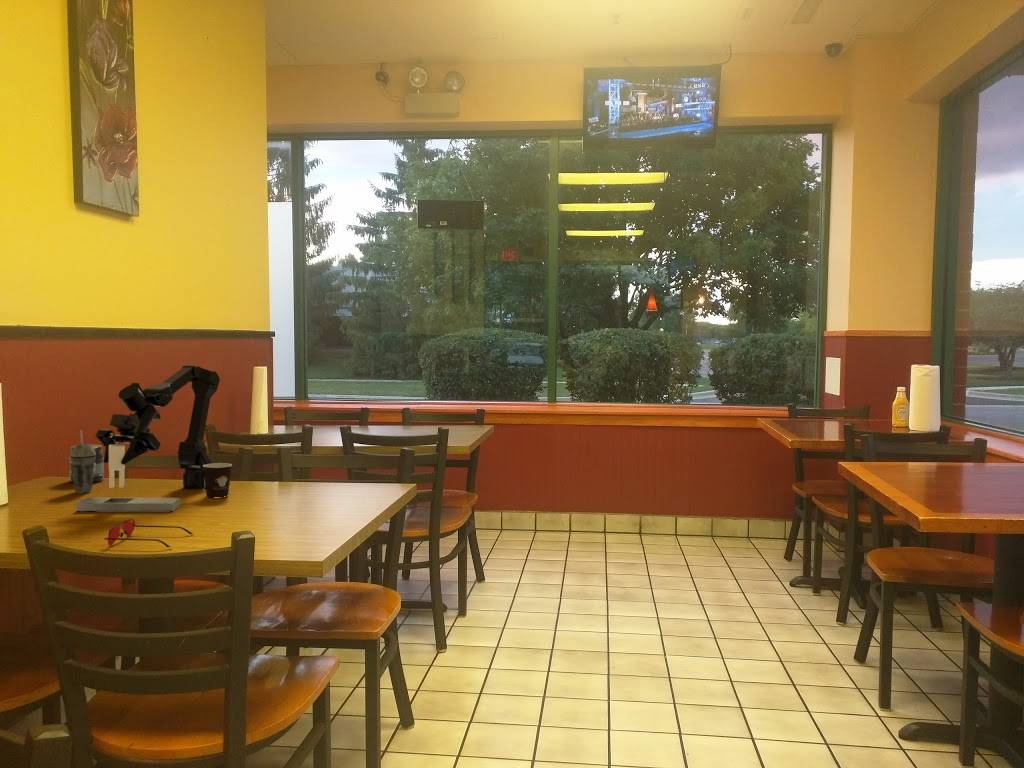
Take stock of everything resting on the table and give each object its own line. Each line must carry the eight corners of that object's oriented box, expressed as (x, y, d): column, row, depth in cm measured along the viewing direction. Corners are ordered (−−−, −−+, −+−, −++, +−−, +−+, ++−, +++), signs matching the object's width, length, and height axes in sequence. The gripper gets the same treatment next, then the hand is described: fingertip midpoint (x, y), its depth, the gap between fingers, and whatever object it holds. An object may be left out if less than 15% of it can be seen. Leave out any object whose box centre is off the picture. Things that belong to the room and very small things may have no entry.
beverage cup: (101, 490, 256) (101, 428, 255) (86, 494, 249) (86, 431, 248) (79, 489, 257) (79, 427, 256) (65, 493, 250) (64, 430, 249)
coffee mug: (232, 493, 258) (232, 462, 257) (231, 498, 250) (231, 467, 249) (193, 494, 254) (193, 463, 253) (191, 500, 246) (191, 468, 245)
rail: (180, 506, 237) (180, 497, 237) (172, 512, 229) (172, 503, 229) (87, 506, 234) (87, 497, 233) (76, 512, 226) (76, 503, 226)
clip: (124, 484, 234) (124, 444, 233) (124, 487, 230) (124, 446, 229) (109, 485, 232) (109, 444, 231) (108, 488, 228) (108, 446, 228)
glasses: (130, 535, 204) (130, 515, 204) (195, 536, 204) (195, 517, 204) (103, 549, 190) (103, 528, 190) (172, 551, 190) (172, 530, 190)
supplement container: (84, 477, 277) (84, 443, 277) (111, 479, 275) (111, 445, 275) (61, 482, 267) (61, 447, 266) (89, 484, 265) (89, 449, 264)
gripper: (100, 402, 236) (70, 443, 226) (153, 405, 231) (126, 447, 221) (119, 426, 244) (92, 467, 234) (171, 429, 239) (146, 471, 229)
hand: (113, 463), depth 229 cm, fingers closed on clip, 6 cm apart
